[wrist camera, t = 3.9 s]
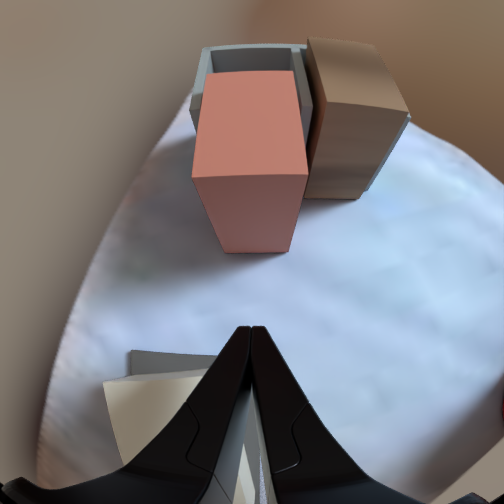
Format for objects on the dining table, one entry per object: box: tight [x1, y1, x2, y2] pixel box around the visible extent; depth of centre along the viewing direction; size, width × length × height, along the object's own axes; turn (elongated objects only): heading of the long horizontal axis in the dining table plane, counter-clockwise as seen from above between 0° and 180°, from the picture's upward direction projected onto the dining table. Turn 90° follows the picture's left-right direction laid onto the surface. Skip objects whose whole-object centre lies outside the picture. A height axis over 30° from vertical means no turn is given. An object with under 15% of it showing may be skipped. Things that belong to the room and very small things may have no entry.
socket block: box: [189, 44, 411, 190], centre depth 16 cm, size 6×11×8 cm, turn 90°
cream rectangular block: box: [103, 368, 255, 504], centre depth 12 cm, size 9×6×4 cm, turn 10°
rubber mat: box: [131, 350, 260, 504], centre depth 14 cm, size 11×8×1 cm
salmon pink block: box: [191, 71, 308, 253], centre depth 15 cm, size 6×4×9 cm, turn 0°
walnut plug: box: [303, 37, 409, 199], centre depth 15 cm, size 6×4×9 cm, turn 0°
